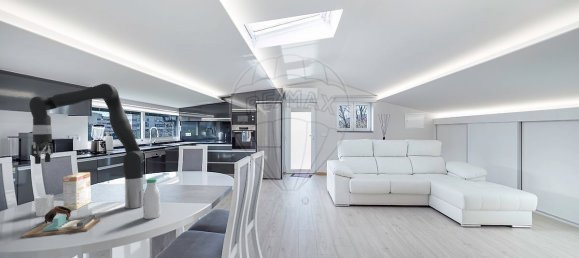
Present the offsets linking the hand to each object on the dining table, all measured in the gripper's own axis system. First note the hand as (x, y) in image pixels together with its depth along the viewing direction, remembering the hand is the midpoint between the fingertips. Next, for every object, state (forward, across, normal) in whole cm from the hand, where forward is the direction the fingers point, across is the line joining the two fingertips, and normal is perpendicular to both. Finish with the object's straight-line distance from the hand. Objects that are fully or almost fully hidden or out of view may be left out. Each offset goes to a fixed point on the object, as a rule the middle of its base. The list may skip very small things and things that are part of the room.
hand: (43, 162), depth 137 cm
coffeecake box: (+29, +13, -10) cm, 33 cm away
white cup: (+29, +1, 0) cm, 29 cm away
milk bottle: (+29, -25, -58) cm, 69 cm away
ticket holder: (+29, -29, -22) cm, 46 cm away
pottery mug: (+29, -14, -12) cm, 34 cm away
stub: (+27, -29, -19) cm, 44 cm away
